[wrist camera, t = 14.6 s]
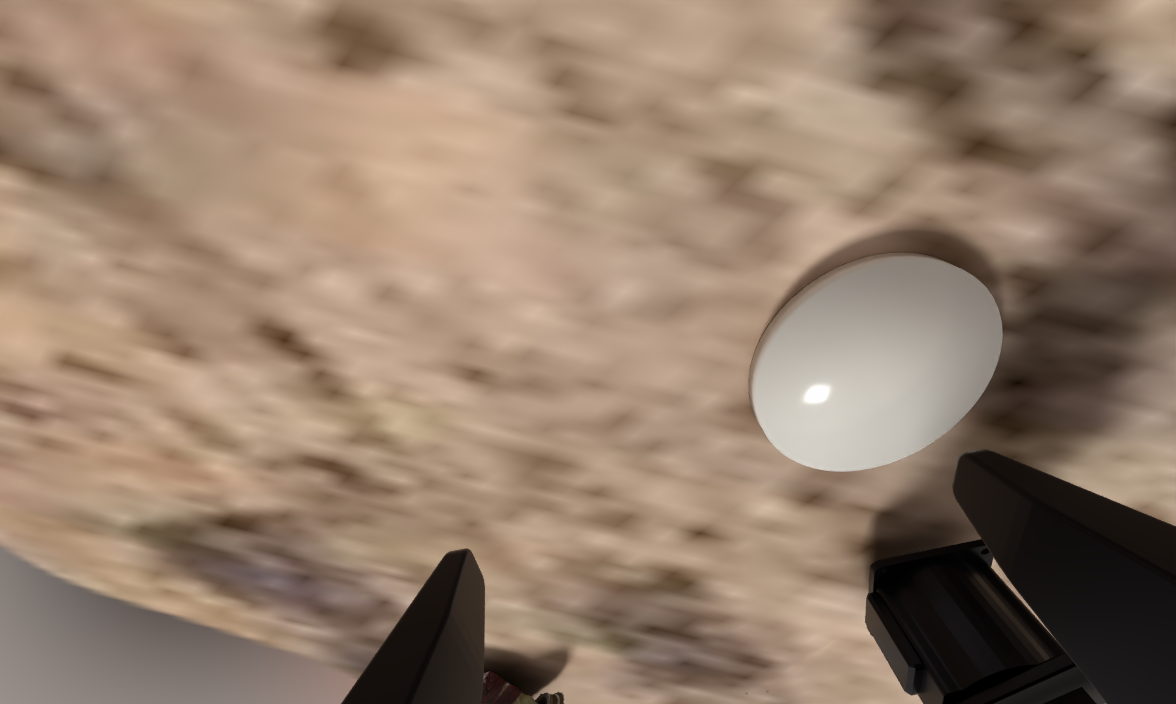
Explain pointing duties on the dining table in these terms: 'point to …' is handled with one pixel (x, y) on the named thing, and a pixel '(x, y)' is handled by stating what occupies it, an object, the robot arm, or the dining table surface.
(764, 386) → the white round plate
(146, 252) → the dining table surface
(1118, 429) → the dining table surface
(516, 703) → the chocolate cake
